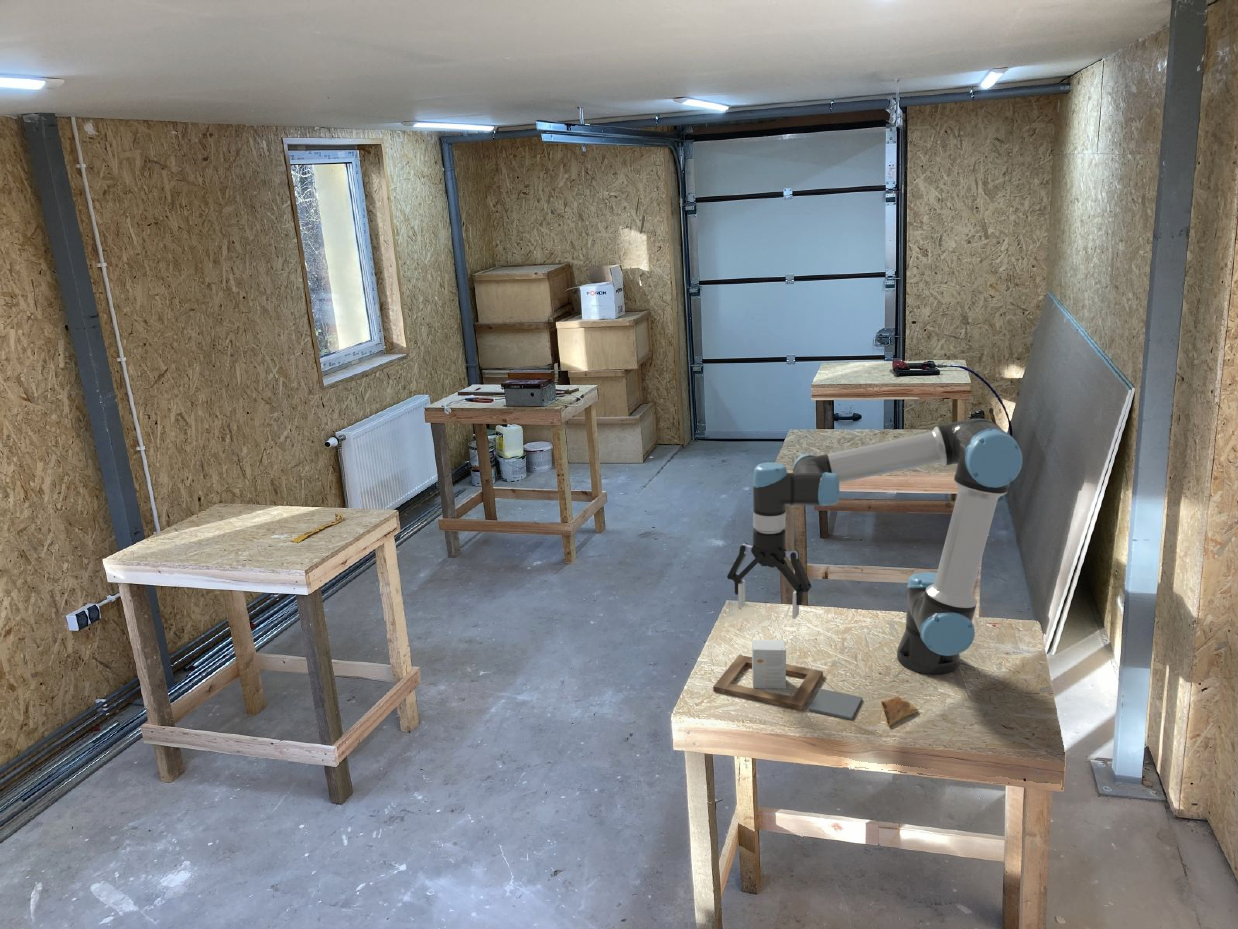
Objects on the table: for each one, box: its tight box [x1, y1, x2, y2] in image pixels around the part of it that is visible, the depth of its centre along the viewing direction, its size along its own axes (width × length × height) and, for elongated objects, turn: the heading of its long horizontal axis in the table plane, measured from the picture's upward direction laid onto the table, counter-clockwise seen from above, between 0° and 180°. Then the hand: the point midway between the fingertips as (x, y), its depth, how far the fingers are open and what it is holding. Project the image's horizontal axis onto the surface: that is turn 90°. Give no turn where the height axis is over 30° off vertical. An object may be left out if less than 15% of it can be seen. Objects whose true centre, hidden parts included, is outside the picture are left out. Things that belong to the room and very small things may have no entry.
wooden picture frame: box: [712, 654, 824, 711], centre depth 232 cm, size 22×18×1 cm
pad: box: [808, 688, 863, 721], centre depth 221 cm, size 10×10×1 cm
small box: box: [751, 639, 787, 689], centre depth 230 cm, size 8×6×10 cm
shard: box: [880, 696, 919, 728], centre depth 217 cm, size 11×8×2 cm
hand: (768, 611), depth 227 cm, fingers open, 13 cm apart
